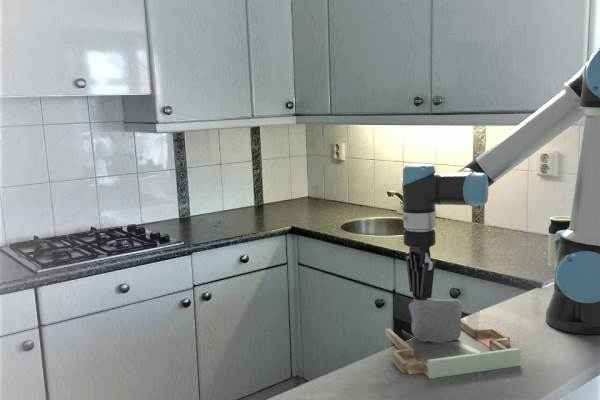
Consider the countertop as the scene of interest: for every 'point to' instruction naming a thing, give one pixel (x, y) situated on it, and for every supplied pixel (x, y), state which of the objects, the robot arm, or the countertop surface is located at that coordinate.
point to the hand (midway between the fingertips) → (420, 323)
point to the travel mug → (556, 225)
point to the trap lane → (461, 363)
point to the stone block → (436, 319)
